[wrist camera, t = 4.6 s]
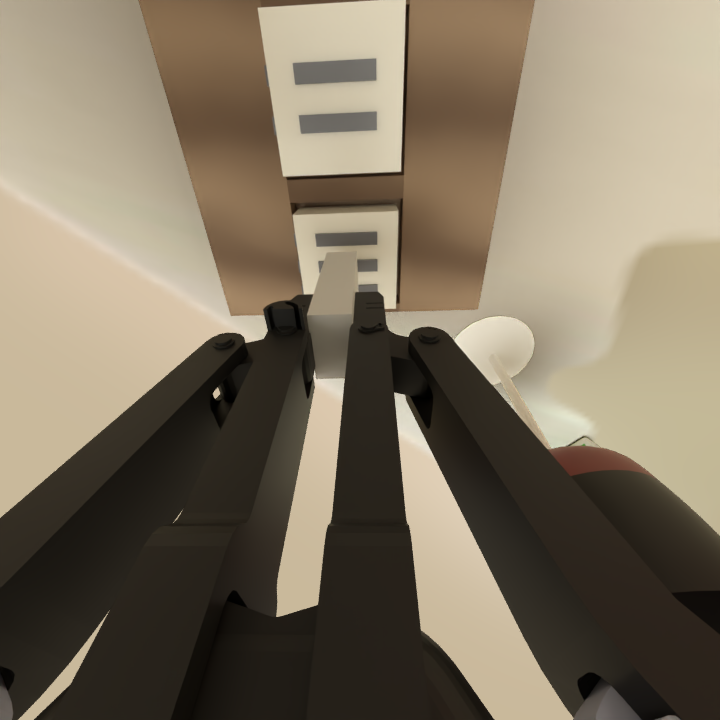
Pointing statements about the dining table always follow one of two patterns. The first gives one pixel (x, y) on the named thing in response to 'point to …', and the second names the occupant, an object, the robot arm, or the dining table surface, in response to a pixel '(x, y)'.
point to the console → (405, 189)
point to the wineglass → (614, 482)
